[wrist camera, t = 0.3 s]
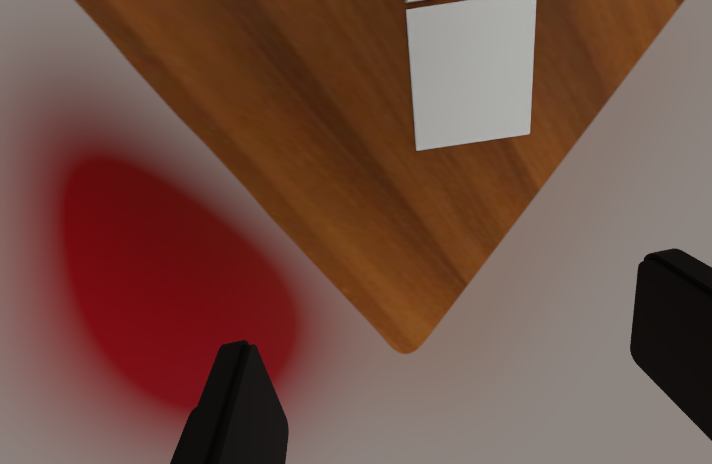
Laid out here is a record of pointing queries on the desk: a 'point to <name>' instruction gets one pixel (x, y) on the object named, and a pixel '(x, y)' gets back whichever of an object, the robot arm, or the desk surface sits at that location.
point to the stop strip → (409, 0)
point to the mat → (471, 70)
